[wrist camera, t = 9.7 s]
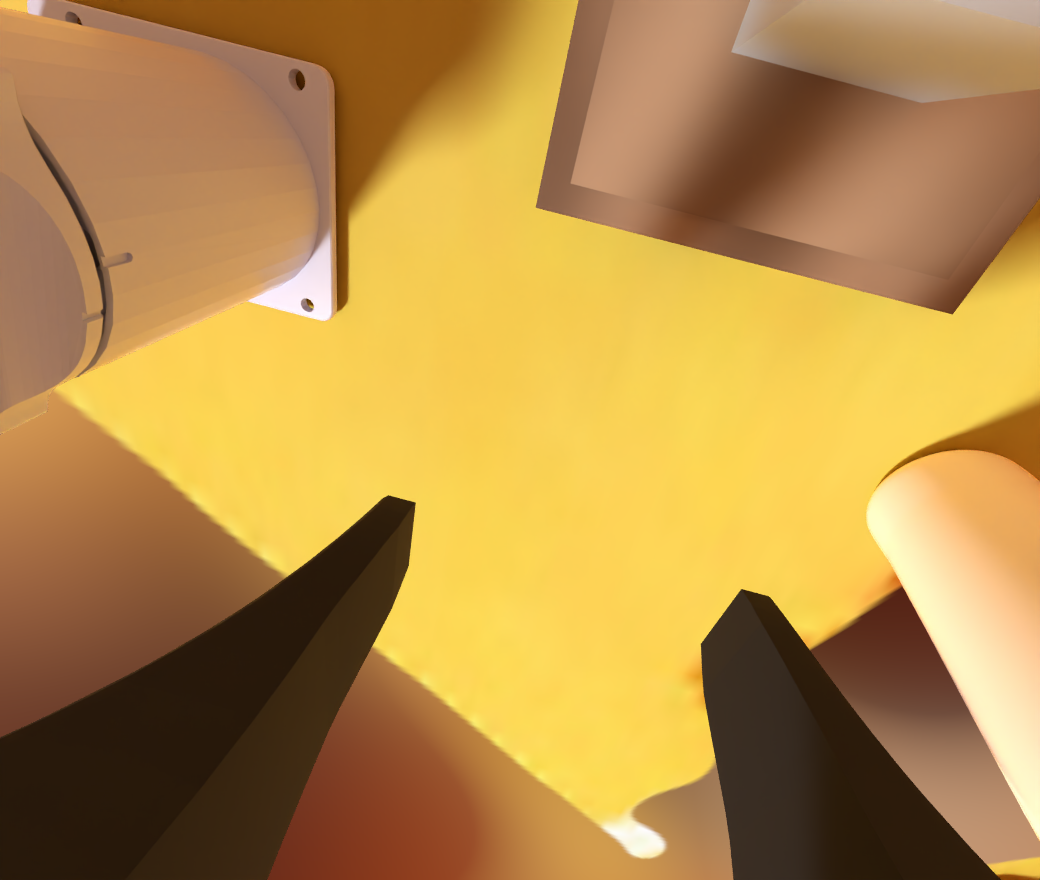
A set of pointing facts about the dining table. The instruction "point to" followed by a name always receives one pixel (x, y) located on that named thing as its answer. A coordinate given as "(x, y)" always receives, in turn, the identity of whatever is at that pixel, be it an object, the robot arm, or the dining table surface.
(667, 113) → the walnut plinth
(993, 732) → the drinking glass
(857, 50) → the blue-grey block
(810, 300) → the dining table surface
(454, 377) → the dining table surface
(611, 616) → the dining table surface
